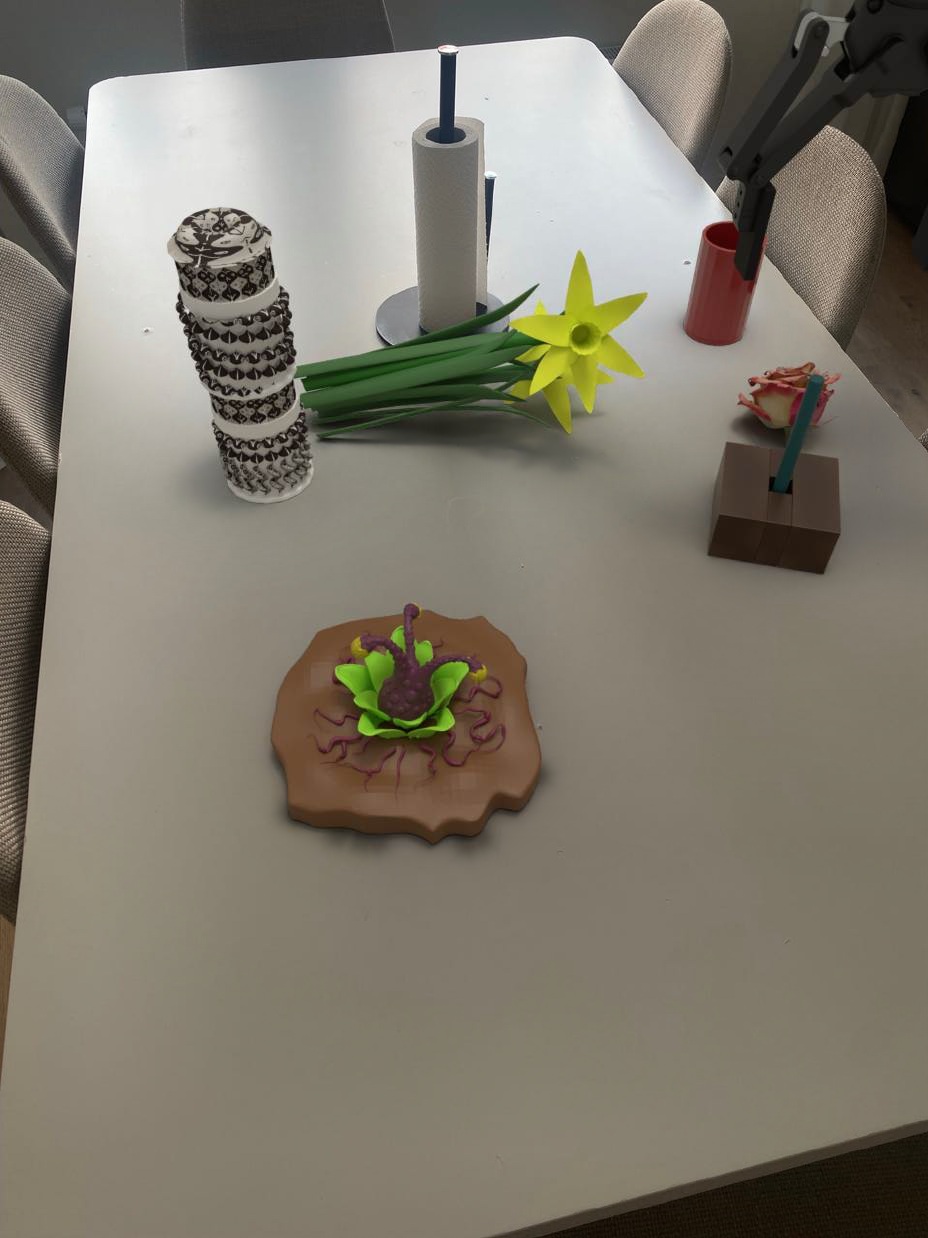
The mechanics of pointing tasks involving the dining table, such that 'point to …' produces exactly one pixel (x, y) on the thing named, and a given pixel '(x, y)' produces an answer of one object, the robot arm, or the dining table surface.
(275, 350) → the decorative candle
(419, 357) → the daffodil flowers
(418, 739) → the plant
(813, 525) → the holder
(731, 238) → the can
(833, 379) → the flower
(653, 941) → the dining table surface
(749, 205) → the robot arm
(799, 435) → the straw
